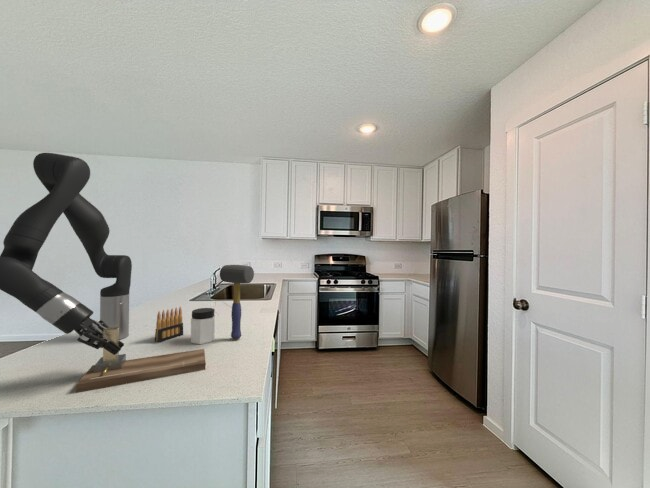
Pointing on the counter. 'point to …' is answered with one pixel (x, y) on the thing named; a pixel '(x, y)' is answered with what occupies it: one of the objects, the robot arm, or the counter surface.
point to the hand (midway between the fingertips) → (119, 349)
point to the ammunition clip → (169, 325)
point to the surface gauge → (108, 358)
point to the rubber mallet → (236, 291)
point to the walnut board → (144, 370)
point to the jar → (202, 326)
